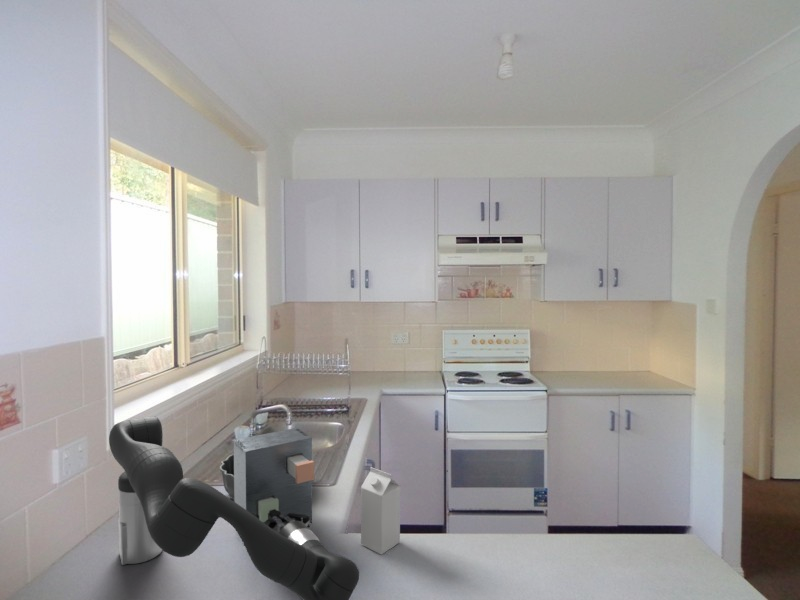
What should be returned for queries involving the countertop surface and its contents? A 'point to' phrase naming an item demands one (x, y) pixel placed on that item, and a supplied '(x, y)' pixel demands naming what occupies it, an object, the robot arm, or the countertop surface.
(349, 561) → the robot arm
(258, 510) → the sage button
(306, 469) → the terracotta button
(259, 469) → the control panel
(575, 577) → the countertop surface
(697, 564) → the countertop surface
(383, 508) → the milk carton
